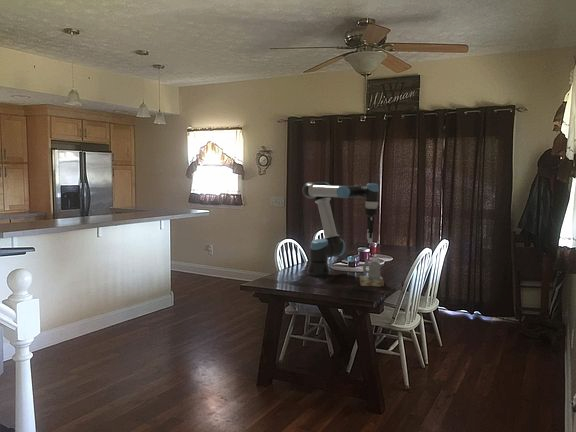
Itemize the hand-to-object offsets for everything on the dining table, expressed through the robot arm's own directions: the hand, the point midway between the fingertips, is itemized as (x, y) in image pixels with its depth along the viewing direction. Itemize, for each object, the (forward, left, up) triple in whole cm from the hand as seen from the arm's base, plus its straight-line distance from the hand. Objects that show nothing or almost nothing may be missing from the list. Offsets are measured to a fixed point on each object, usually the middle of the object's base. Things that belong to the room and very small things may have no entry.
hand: (369, 241), depth 304 cm
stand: (+2, -5, -26) cm, 27 cm away
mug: (+2, -4, -23) cm, 23 cm away
